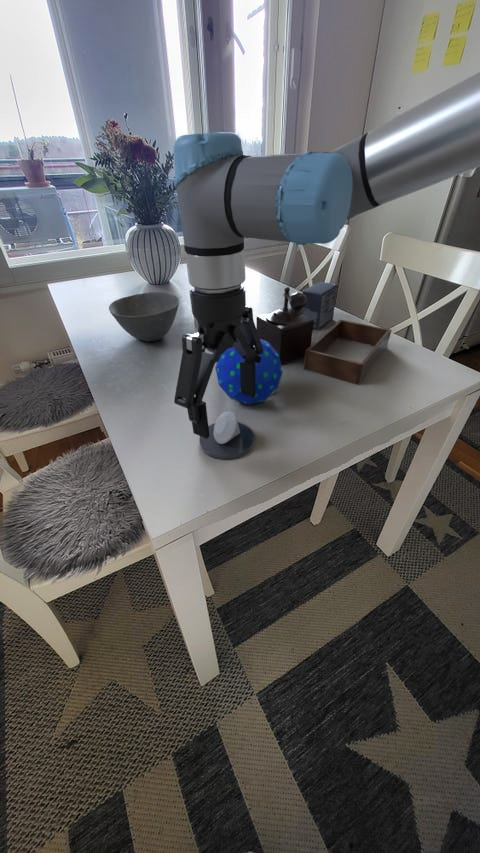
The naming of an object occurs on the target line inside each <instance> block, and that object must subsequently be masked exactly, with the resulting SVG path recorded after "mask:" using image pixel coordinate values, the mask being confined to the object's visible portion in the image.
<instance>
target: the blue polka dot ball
mask: <svg viewBox="0 0 480 853" xmlns="http://www.w3.org/2000/svg"><path fill="white" fill-rule="evenodd" d="M260 341H261V344H262V347H263V353H262V354H259V355H258V356H261V357H262V360H261V362H260V363H256V368H255V369H256V370H255V371H256V374H255V394H256V396H255V397H250V396H247V395H244V394H241V381H240V361H242V360H244V361H245V359H243V358H242V357H241V356H240V355H239V353H238V352H237V351H236V350H235V349H234V348H233V347H232V348H230V349H227V350H226V351H225V352H224V353H223V354H221V356H220V359H219V361H218V362H216V363H215V366H214V367H215V372H216V373H215V374H216V378H217V382H218V386H219V387H220V389H222V391H223V392H224V393H225V394H226V395H227V396H228V397H229V399H230V400H233V401H236V402H239V403H241V404H244V405H252V404H257V403H261V402H265V401H266V400H267V399H268V398H269V397H270V396H271V395H272V394H273V393H274V392H275V391H276V390H278V388H279V385H280V382H281V378H282V375H283V367H282V364H281V362H280V357H279V355H278V353H277V352H276V351H275V350H274V348H273V347H272V346H271V345H270V344H269V342H266V341H264V340H261V339H260Z"/></svg>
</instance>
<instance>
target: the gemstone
mask: <svg viewBox="0 0 480 853" xmlns="http://www.w3.org/2000/svg"><path fill="white" fill-rule="evenodd" d="M237 418H238V417H237V415H236V413H234V411H232V410H226V411H224V412H222V413H221V414H220V415H219V416H218V418H217V419H216V420H215V422H214V423H215V426H214V438H215V440H216V441H217V442H218V443H219V444H224V443H227V442H228V441H230V440H231V439H232V438H234V437H235V436H237V435H238V434H240V429H239V425H238V422H239V421H238V419H237Z"/></svg>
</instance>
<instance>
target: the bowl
mask: <svg viewBox="0 0 480 853" xmlns="http://www.w3.org/2000/svg"><path fill="white" fill-rule="evenodd" d="M179 305H180V298H179V297H178V296H177V295H175V294H173V293H169V292H162V291H161V292H160V291H151V292H143V293H137V294H132V295H128V296H124V297H121V298H118V299H116V300H113V301H112V302H111V303H110V304H109V306H108V311H109V313H110V314H111V316H112V317H113V318H114V320H115V321H116V322H117V323H118V324H119V326H120V327H121V328H122V329H123V330H124V331H125V332H126V333H127V334H129V335H130V336H131V337H133V338H135V339H136V340H139V341H142V342H156V341H158V340H161V339H162V338H164V337H165V336H166V335H167V334H168V332H169V331H170V330H171V328H172V326H173V324H174V321H175V320H176V316H177V312H178V309H179Z"/></svg>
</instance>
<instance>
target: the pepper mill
mask: <svg viewBox="0 0 480 853" xmlns="http://www.w3.org/2000/svg"><path fill="white" fill-rule="evenodd" d="M290 291H291V288H290V287H289V286H285V288H284V293H283V295H282V296H283V298H284V300H283V301H284V302H283V307H282V308H278V309H276V310H274V311H271V312H266V313H263V314H259V315H257V316H256V323H255V326H256V329H257V332H258V335H259V338H260V339H261V340H264V341H266V342H269V344H270V345H271V346H272V347H273V348H274V350H275V351H276V352H277V353H278V355H279V357H280V362H281V365H284V364H288V363H292V362H295V361H297V360H301V359H303V358H305V350H306V349H307V348H309V347H310V346H311V345H312V340H313V333H314V329H313V325H314V320H313V319H311V318H309V317H307V316H305V315H302V313H303V307H304V306H305V305H306V303H307V298H306V296H305V295H304V294H303V292H293V293H290ZM289 306H290V308H289Z"/></svg>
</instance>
